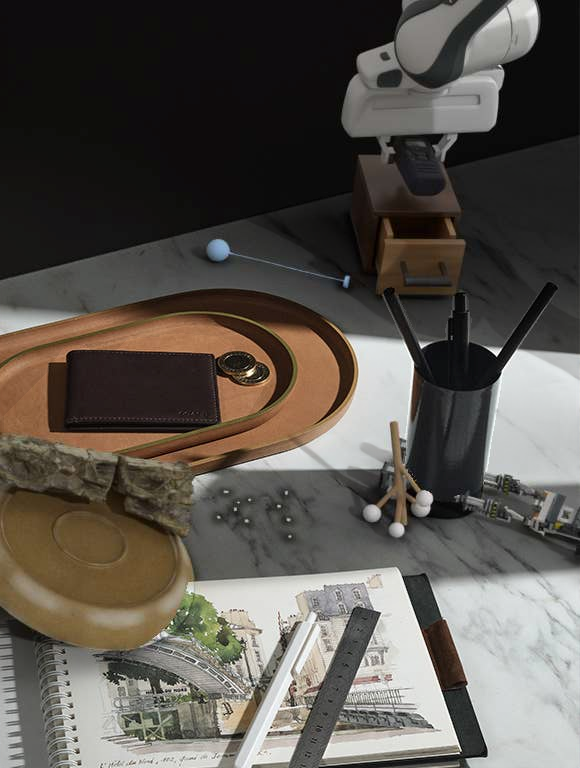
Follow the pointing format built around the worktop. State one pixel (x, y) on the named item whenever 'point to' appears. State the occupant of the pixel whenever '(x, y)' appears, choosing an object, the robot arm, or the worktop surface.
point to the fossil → (101, 478)
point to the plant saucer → (88, 569)
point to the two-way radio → (418, 165)
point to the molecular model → (220, 251)
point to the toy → (545, 514)
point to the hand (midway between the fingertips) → (411, 161)
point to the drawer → (417, 255)
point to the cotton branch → (400, 492)
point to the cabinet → (391, 203)
